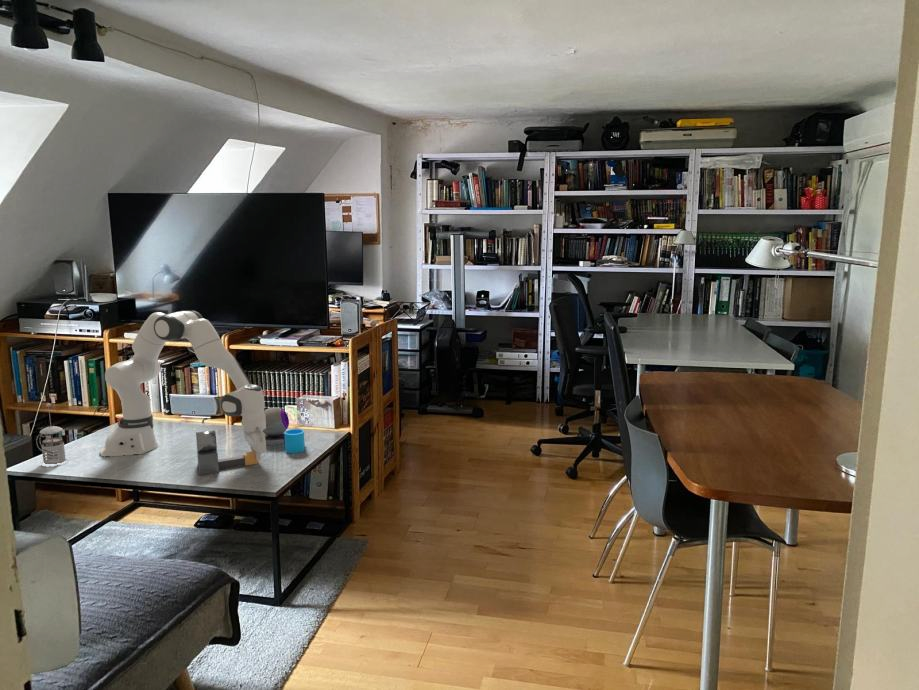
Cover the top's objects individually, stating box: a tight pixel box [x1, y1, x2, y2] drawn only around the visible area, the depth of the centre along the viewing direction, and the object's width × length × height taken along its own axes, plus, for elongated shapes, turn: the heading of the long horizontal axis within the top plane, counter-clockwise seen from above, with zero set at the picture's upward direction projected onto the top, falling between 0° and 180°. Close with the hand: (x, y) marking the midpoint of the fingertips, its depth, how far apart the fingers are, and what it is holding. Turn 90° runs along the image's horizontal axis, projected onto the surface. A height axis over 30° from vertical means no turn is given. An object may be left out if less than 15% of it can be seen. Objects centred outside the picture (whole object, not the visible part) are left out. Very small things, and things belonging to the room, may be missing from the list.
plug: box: [218, 451, 259, 470], centre depth 275 cm, size 16×4×4 cm, turn 118°
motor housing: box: [195, 429, 220, 476], centre depth 270 cm, size 7×14×15 cm, turn 23°
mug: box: [284, 428, 306, 454], centre depth 294 cm, size 12×8×8 cm
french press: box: [35, 402, 68, 464], centre depth 276 cm, size 10×12×25 cm
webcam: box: [263, 406, 290, 446], centre depth 305 cm, size 13×13×15 cm
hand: (256, 457), depth 278 cm, fingers closed on plug, 4 cm apart
